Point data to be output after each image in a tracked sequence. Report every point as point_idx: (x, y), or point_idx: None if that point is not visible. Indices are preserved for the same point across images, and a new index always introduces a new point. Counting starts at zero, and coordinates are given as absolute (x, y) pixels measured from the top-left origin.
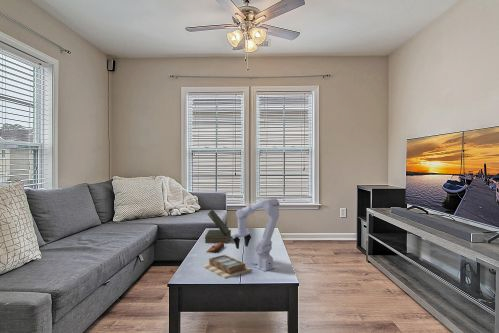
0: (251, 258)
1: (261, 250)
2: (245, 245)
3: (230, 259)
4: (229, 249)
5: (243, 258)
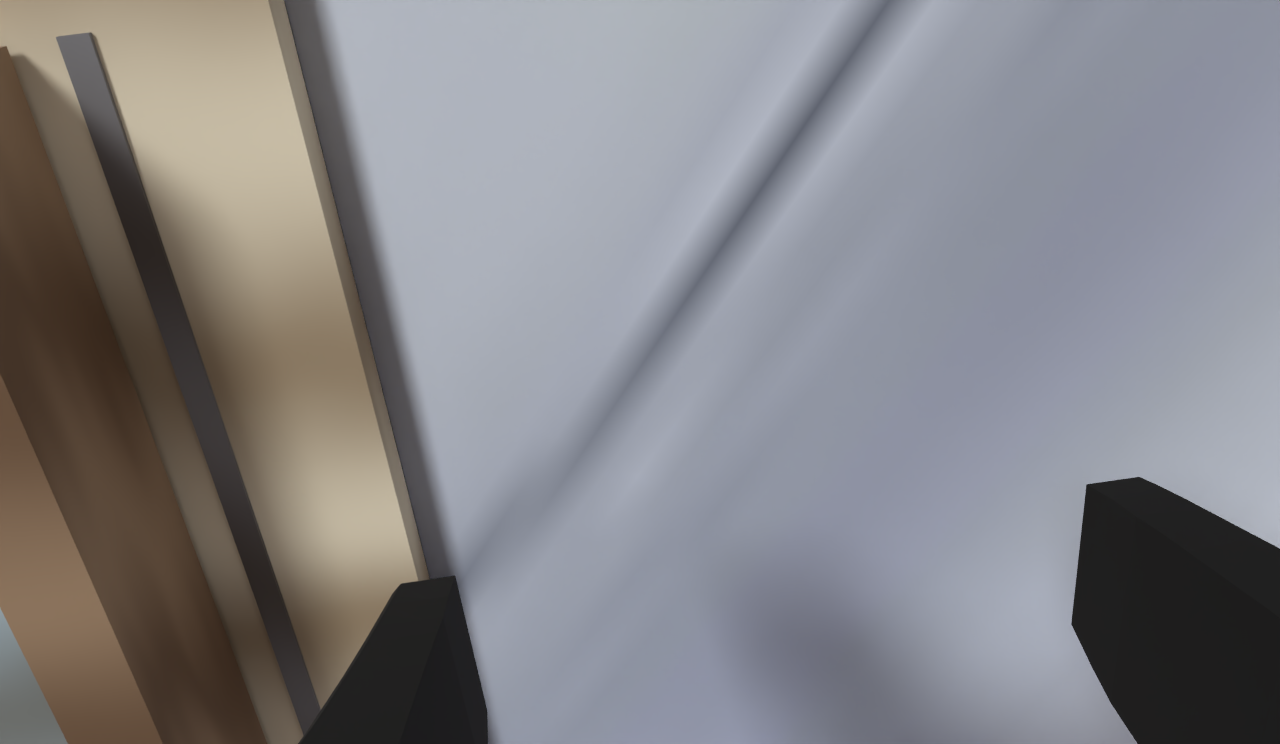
0: (1106, 216)
1: None
2: (1105, 531)
3: (28, 640)
4: None
5: (889, 64)
